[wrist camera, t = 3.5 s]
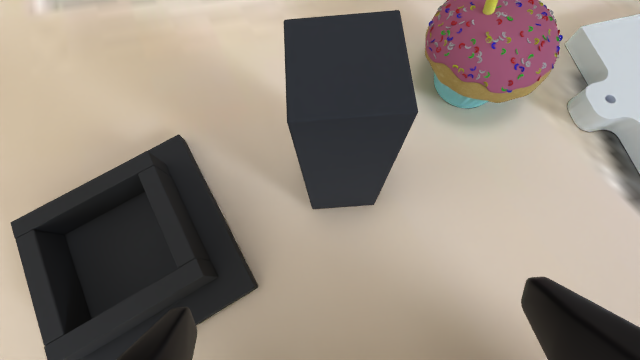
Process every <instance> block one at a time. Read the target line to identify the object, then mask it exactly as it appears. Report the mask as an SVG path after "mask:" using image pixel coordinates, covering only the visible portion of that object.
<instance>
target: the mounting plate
mask: <svg viewBox="0 0 640 360" xmlns="http://www.w3.org/2000/svg"><path fill="white" fill-rule="evenodd" d="M565 46H566V48H567V49H568V51H569V53H570V54H571V56H572V58H573V60H574V61H575V63H576V65H577V67H578V68H579V70H580V72H581V73H582V75H583V77H584V79H585V80H586V82H587V84H588V87H586V88H585V89H584V90H582V91H581V92H580V93H579V94H577V95H576V96H575V97H574V98H572V99H571V100H570V101H569V102H568V105H567V109H568V111H569V113H570V115H571V117H572V119H573V121H574V122H575V124H576V125H577V126H578V127H579V128H580V129H582V130H584V131H589V132H591V131H597V130H609V131H611V132H613V133H614V134H616V135H617V136H618V138H619V139H620V141H621V143H622V144H623V146H624V148H625V149H626V151H627V153H628V155H629V156H630V158H631V160H632V162H633V163H634V165H635V167H636V168H637V170H638V172H639V174H640V14H637V15H632V16H628V17H623V18H618V19H613V20H609V21H604V22H599V23H595V24H590V25H585V26H581V27H580V28H579V29H578V30H577V31H576V32H575V33H574V35H573V36H572V37H571V38H570V39H569V40H568V41H567V42H566V43H565Z"/></svg>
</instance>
